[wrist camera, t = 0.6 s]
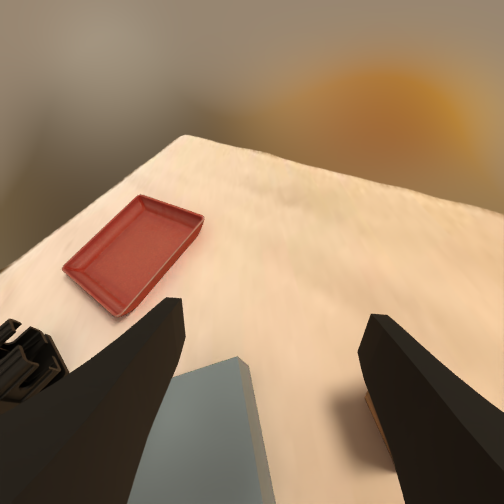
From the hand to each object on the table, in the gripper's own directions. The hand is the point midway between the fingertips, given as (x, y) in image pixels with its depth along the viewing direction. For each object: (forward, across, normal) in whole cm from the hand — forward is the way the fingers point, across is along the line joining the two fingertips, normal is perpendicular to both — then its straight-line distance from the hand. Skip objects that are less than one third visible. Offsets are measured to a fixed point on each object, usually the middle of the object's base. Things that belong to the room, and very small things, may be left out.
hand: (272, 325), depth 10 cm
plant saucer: (+28, +20, +14) cm, 37 cm away
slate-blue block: (+4, +5, +20) cm, 21 cm away
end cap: (+12, +28, +24) cm, 39 cm away
